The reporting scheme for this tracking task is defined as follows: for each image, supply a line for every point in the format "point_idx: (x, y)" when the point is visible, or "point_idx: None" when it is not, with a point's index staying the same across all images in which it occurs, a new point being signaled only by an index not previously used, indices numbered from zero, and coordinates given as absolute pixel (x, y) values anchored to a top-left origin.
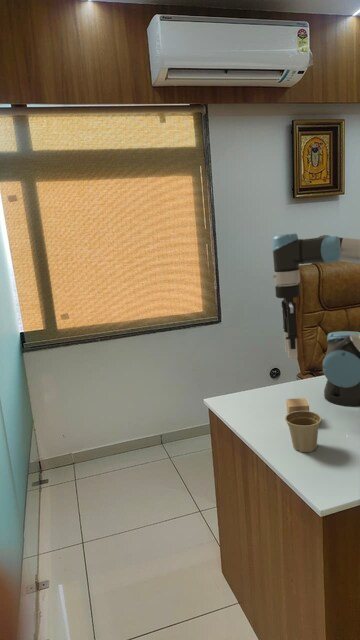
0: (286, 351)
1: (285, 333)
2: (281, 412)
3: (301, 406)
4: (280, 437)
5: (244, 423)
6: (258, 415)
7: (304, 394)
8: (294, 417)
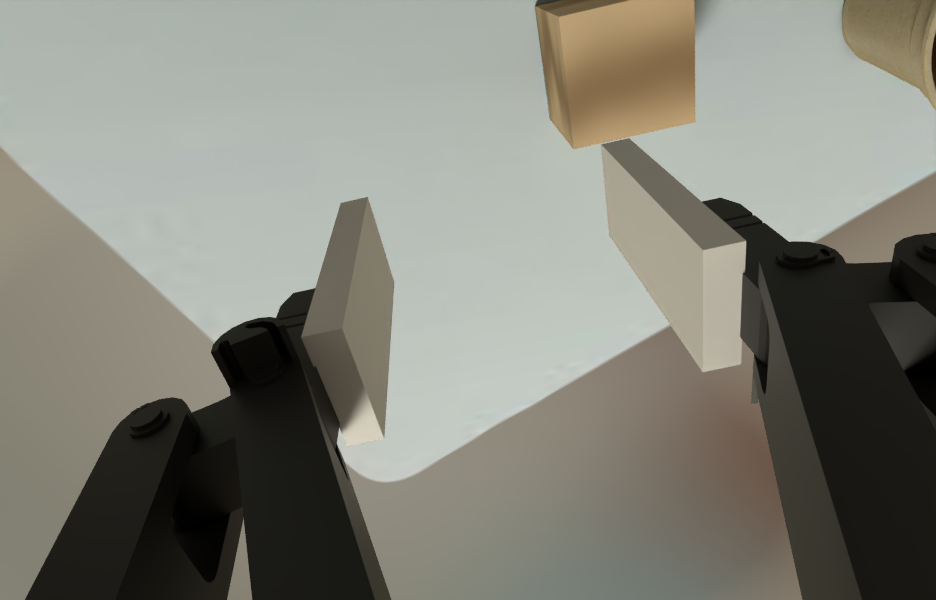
0: (392, 281)
1: (382, 430)
2: (496, 156)
3: (694, 40)
4: (779, 130)
5: (624, 305)
6: (538, 262)
7: (194, 34)
8: (916, 74)
